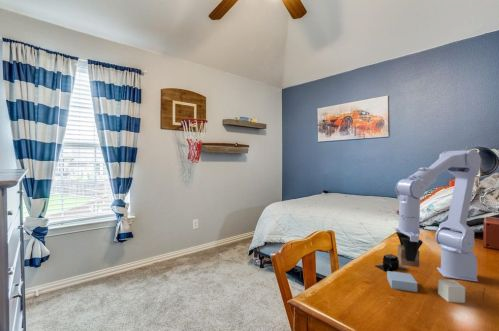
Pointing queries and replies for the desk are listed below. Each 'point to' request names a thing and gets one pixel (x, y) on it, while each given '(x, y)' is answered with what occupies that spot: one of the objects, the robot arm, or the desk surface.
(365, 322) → the desk surface
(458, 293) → the cream cube
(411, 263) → the walnut cube
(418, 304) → the desk surface
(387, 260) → the black rectangular box
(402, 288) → the blue slab
